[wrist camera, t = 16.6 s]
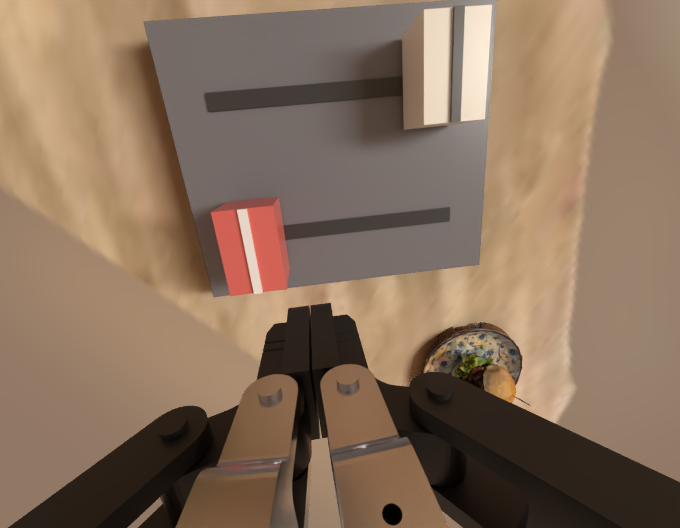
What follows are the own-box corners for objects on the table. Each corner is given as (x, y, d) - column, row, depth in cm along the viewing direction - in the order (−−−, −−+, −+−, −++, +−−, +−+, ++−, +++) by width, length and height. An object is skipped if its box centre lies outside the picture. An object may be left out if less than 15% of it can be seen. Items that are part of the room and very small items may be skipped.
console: (163, 37, 23) (141, 20, 20) (475, 14, 25) (498, -5, 22) (222, 283, 30) (212, 298, 27) (463, 254, 32) (480, 265, 29)
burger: (421, 322, 34) (450, 366, 27) (523, 318, 35) (576, 359, 28) (411, 409, 38) (435, 467, 31) (503, 402, 39) (546, 457, 32)
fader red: (227, 202, 24) (209, 212, 20) (278, 196, 25) (272, 206, 20) (242, 273, 26) (229, 297, 22) (289, 267, 27) (286, 290, 22)
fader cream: (401, 36, 22) (425, 7, 18) (457, 32, 22) (494, 3, 18) (403, 129, 24) (424, 124, 20) (454, 124, 24) (486, 118, 20)
